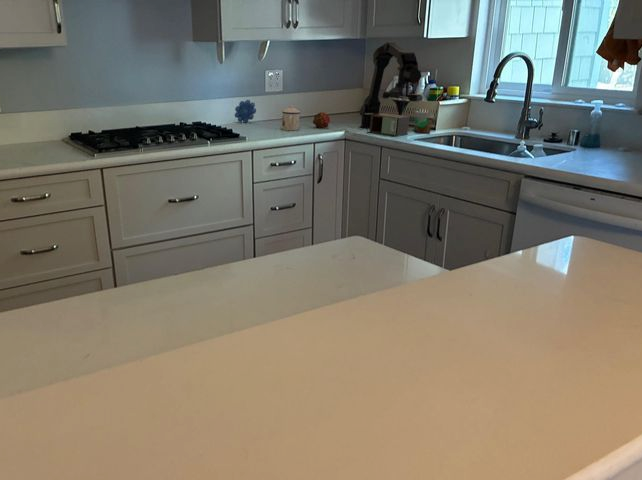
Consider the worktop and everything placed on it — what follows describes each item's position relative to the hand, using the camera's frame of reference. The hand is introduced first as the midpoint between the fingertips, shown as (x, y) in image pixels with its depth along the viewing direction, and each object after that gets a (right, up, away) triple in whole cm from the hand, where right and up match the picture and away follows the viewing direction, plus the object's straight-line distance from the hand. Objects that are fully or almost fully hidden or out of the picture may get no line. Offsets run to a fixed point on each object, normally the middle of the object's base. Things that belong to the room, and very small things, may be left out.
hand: (400, 115), depth 294 cm
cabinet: (-3, -5, +15) cm, 16 cm away
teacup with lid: (-52, -2, +19) cm, 55 cm away
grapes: (-75, +8, +40) cm, 85 cm away
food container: (+15, -3, +22) cm, 27 cm away
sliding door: (-4, -7, +9) cm, 12 cm away
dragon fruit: (-35, +2, +30) cm, 46 cm away
